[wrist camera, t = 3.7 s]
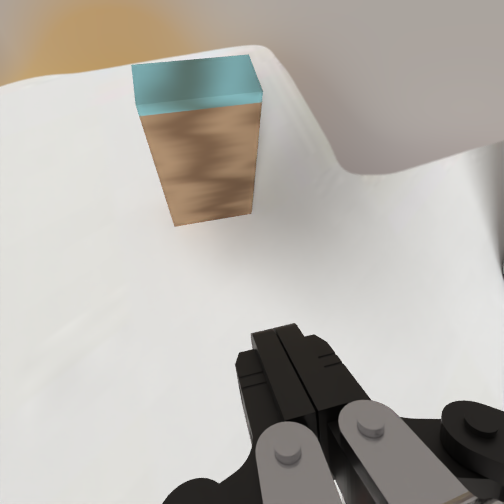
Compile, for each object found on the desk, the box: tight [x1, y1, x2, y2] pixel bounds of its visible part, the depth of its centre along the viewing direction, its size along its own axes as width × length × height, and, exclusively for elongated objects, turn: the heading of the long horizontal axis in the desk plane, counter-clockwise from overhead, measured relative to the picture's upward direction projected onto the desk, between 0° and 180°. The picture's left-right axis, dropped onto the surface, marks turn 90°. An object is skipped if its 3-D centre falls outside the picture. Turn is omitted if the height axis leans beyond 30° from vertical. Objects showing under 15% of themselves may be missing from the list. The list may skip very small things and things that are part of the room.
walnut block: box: [132, 55, 263, 226], centre depth 26 cm, size 8×4×14 cm, turn 104°
